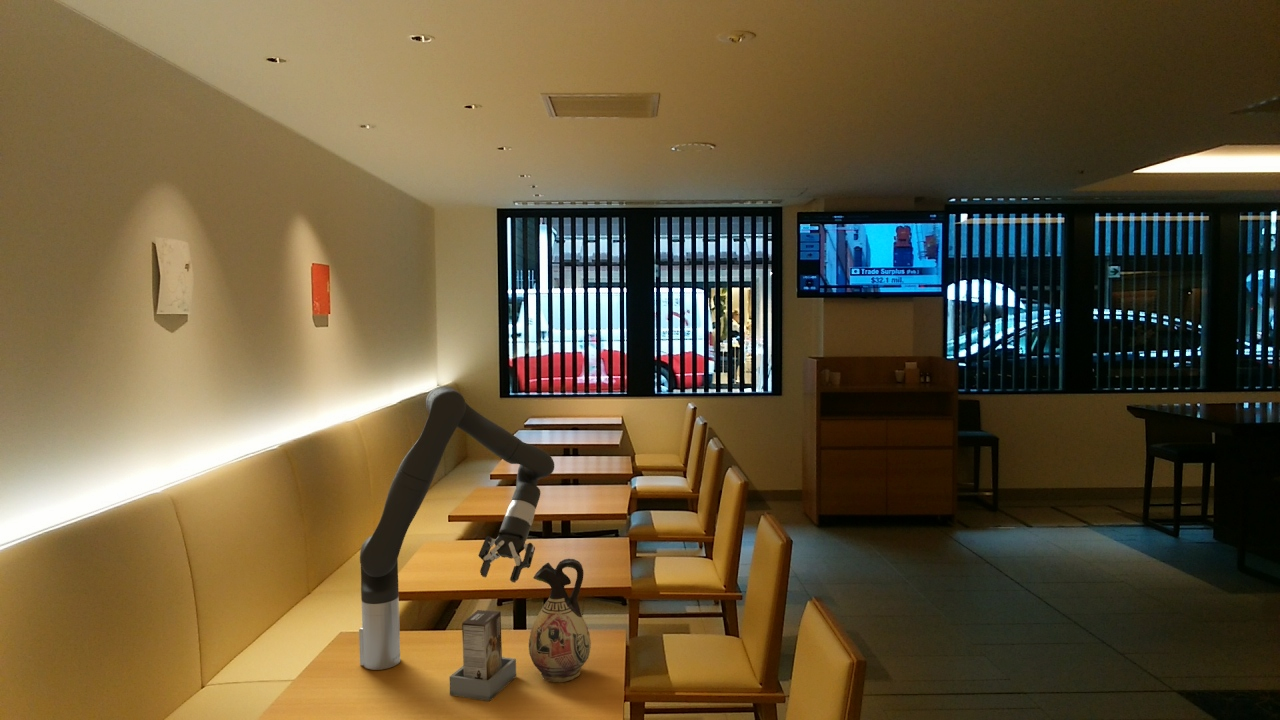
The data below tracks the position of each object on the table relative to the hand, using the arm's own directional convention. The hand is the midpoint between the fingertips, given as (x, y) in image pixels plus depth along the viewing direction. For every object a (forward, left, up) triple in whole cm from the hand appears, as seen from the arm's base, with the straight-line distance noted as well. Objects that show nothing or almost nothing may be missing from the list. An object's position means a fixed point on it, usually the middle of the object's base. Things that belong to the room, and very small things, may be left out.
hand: (497, 578), depth 210 cm
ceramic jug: (+19, -1, -23) cm, 29 cm away
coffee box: (+2, -12, -22) cm, 25 cm away
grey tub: (+2, -12, -22) cm, 26 cm away
